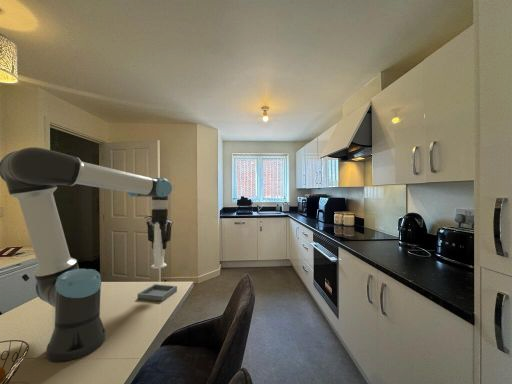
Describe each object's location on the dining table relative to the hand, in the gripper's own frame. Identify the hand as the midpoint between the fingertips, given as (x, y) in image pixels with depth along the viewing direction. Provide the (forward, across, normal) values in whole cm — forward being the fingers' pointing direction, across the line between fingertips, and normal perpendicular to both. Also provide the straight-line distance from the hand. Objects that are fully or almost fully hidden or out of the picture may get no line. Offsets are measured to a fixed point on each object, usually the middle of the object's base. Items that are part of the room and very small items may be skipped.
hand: (158, 255), depth 115 cm
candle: (+6, 0, 0) cm, 6 cm away
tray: (+20, 0, 0) cm, 20 cm away
